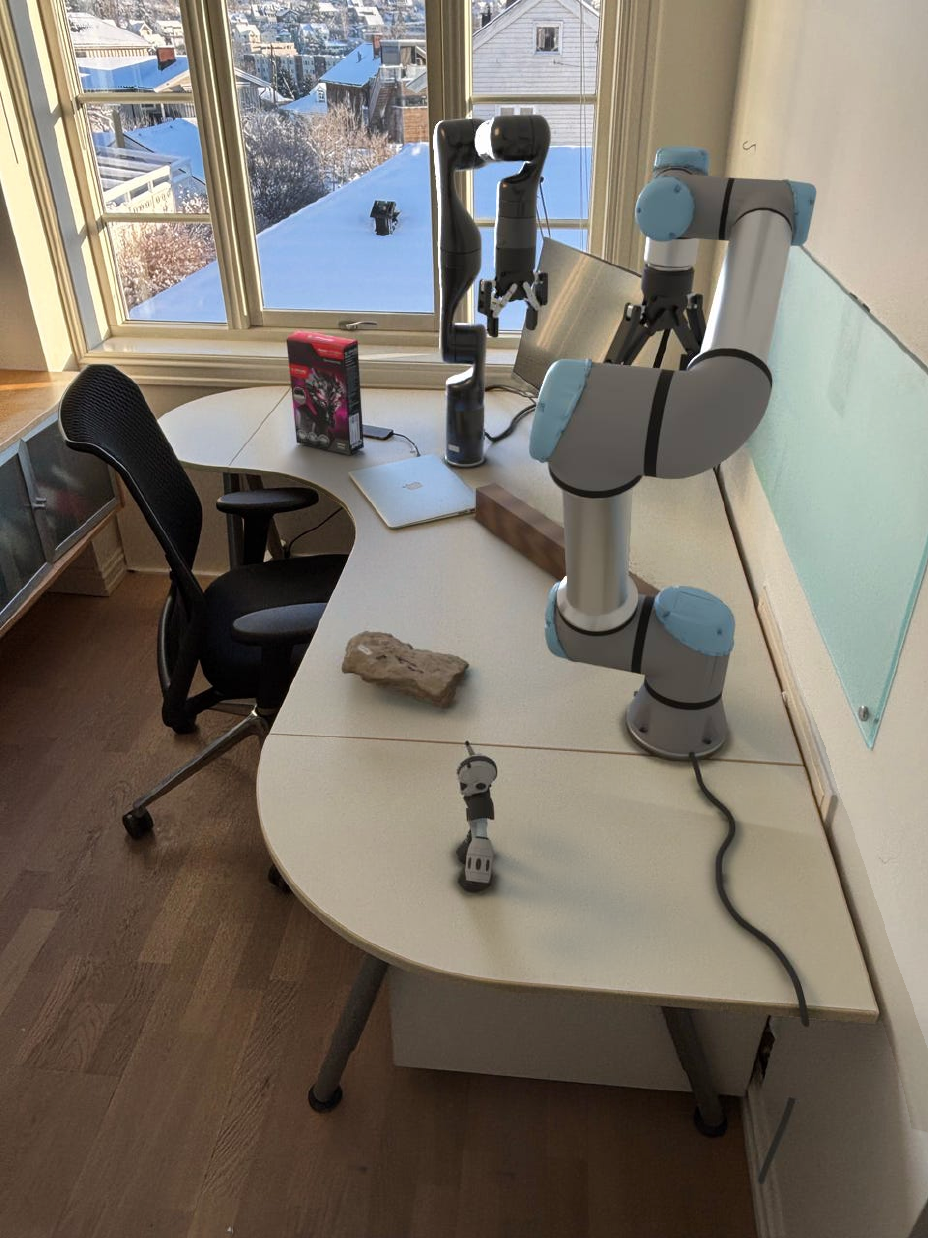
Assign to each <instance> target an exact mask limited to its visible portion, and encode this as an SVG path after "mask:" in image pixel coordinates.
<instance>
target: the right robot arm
mask: <svg viewBox="0 0 928 1238" xmlns="http://www.w3.org/2000/svg"><path fill="white" fill-rule="evenodd" d="M710 163H711V155H710V152H709V151H708V150H707V149H705V148H704V147H703V148H702V147H698V146H689V145H670V146H663V147H661V148H660V149H658V150H657V151H656V154H655V158H654V166H653V168H652V173H653V174H652V179H651V180H650V181H648V182H647V183H646V184H645V185H644V186H643V188H642V190H641V192H640V194H639V196H638V198H637V200H636V204H635V208H634V216H635V221H636V224H637V227H638V229H639V230H640V232H641V233H642V234H643V235H644V236H645V237H646V238H645V247H644V256H643V260H644V262H645V263H646V264H644V265H643V266H642V272H641V282H640V290H641V292H642V295H643V297H642V300H641V302H640V303H639V304H638V303H636V304H635V303H631V302H626V303H625V304H624V309H623V314H622V318H621V321H620V322H619V325H618V328H617V330H616V331H615V333H614V336H613V339H612V341H611V343H610V345H609V348H608V350H607V352H606V354H605V356H604V359H603V361H602V362H598V361H593V359H592V358H586V359H575V358H574V359H573V358H562V359H558V360H557V361H555V362H553V363H552V364H551V366H549V368H548V370H547V372H546V374H545V376H544V378H543V381H542V385H541V387H540V390H539V393H538V397H537V401H536V403H537V405H536V407H535V408H534V414H533V417H532V423H531V429H530V434H529V445H528V452H529V456H530V458H531V459H533V460H536V461H538V462H539V463H542V464H545V463H547V467H548V473H549V476H550V478H551V480H552V481H553V483H554V485H556V487H557V488H559V489H560V490H561V494H562V516H563V517H562V519H563V528H564V539H565V560H566V577H565V578H564V579H563V580H562V581H561V580H560V581H558V582H556V583H555V584H554V585H553V586H552V588H551V590H550V593H549V596H548V599H547V602H546V608H545V614H544V615H545V616H544V621H545V625H544V637H545V643H546V645H547V648H548V651H550V653H551V654H552V655H554V656H555V657H557V658H561V659H565V660H567V661H569V662H572V663H581V664H586V665H590V666H596V667H601V668H607V669H611V670H616V671H621V672H627V673H632V674H637V675H641V676H644V677H643V682H642V684H641V685H640V688H639V689H638V690H634V691H633V699H632V701H631V702H630V704H629V706H628V708H627V711H626V719H625V728H626V732H627V734H628V736H629V738H630V739H631V741H632V742H634V744H636V745H637V746H638V747H639V748H640V749H641V750H643V751H645V752H646V753H648V754H650V755H651V756H654V757H656V758H659V759H662V760H666V761H670V762H675V763H691V764H692V767H693V771H694V775H695V778H696V782H697V785H698V787H699V789H700V790H701V792H702V793H703V795H704V796H705V797H706V799H708V800H709V801H710V802H711V803H712V804H713V805H714V806H715V807H717V808H718V809H719V810H720V811H721V812H722V813H723V814H724V815H725V817H726V819H727V822H728V828H729V829H728V833H727V836H726V837H725V839H724V841H723V843H722V844H721V846H720V847H719V849H718V852H717V854H716V858H715V866H714V867H715V871H714V872H715V882H716V889H717V892H718V895H719V897H720V900H721V902H722V903H723V905H724V907H725V909H726V911H727V912H728V913H729V915H730V916H731V917H732V918H733V919H734V921H735V922H736V923H737V924H739V925H740V926H741V927H742V928H743V929H745V930H746V931H747V932H748V933H750V934H752V935H753V936H755V937H756V938H757V939H758V940H759V941H761V942H762V943H764V945H766V946H767V947H768V948H769V949H770V950H771V951H772V952H773V953H774V954H775V956H776V957H777V958H778V959H779V961H780V963H781V964H782V966H783V967H784V969H785V970H786V972H787V974H788V975H789V978H790V980H791V982H792V984H793V988H794V991H795V994H796V999H797V1004H798V1008H799V1013H800V1014H799V1015H800V1020H801V1025H803V1027H805V1028H809V1027H810V1017H809V1011H808V1006H807V1000H806V997H805V993H804V989H803V986H802V983H801V980H800V979H799V977H798V974H797V972H796V971H795V969H794V967H793V966H792V963H791V962H790V961H789V959H788V958H787V956H786V955H785V954H784V952H783V950H781V948H780V946H778V945H777V944H776V943H775V942H774V941H773V940H772V939H771V938H770V937H768V936H767V935H766V934H764V933H763V932H762V931H760V930H759V929H758V928H757V927H755V926H753V925H752V924H751V923H750V922H748V921H747V920H746V919H744V918H743V917H742V916H741V915H740V914H739V912H737V911H736V909H735V908H734V907H733V905H732V902H730V900H729V897H728V895H727V893H726V890H725V885H724V880H723V860H724V856H725V854H726V851H727V849H728V848H729V846H730V845H731V843H732V841H733V839H734V837H735V835H736V821H735V819H734V816H733V815H732V812H731V811H730V810H729V809H728V807H726V806H725V805H724V804H723V803H722V802H721V801H720V800H719V799H718V798H717V797H715V796H714V794H712V792H710V791H709V789H708V788H707V786H706V785H705V783H704V780H703V777H702V773H701V770H700V765H699V763H698V762H700V761H703V760H706V759H709V758H711V757H714V755H716V754H718V752H720V751H721V750H722V748H723V747H724V744H725V743H726V740H727V739H726V738H727V734H728V721H727V716H726V712H725V708H724V707H725V706H724V701H723V692H724V686H725V682H726V678H727V677H726V676H727V671H728V666H729V661H730V656H731V652H733V649H734V646H735V638H734V637H735V631H736V618H735V616H734V614H733V611H732V610H731V608H730V607H729V606H728V605H727V604H726V603H724V601H723V600H722V599H721V598H719V597H718V596H717V595H715V594H712V593H711V592H709V591H706V590H704V589H701V588H698V587H694V586H689V585H676V586H675V587H674V586H668V587H666V588H663V589H662V590H659V591H660V592H659V594H658V595H657V596H656V597H652V596H647V595H641V594H638V591H637V588H636V585H635V583H634V581H633V580H632V579H631V578H630V577H629V571H630V555H631V553H630V552H631V532H632V531H631V530H632V509H633V508H632V507H633V489H635V488H636V487H637V486H638V484H639V483H641V481H642V479H643V478H644V477H651V478H656V479H663V480H681V479H686V478H691V477H695V476H698V475H700V474H704V473H705V472H707V471H710V470H712V469H714V468H716V467H717V466H718V465H720V464H722V463H723V462H725V461H726V460H727V459H729V458H731V457H732V455H734V454H735V453H736V452H737V451H738V450H739V449H740V448H742V446H743V445H744V444H746V442H747V441H748V440H749V439H750V438H751V436H752V435H753V433H754V432H755V431H756V430H757V428H758V427H759V425H760V424H761V421H762V420H763V418H764V417H765V414H766V411H767V409H768V408H769V407H768V406H769V404H770V400H771V394H772V391H773V390H772V389H773V385H774V384H773V383H774V377H773V373H772V370H771V368H770V366H769V364H768V361H769V355H770V351H771V346H772V341H773V336H774V331H775V326H776V321H777V316H778V310H779V307H780V306H779V305H780V300H781V296H782V291H783V286H784V281H785V276H786V271H787V266H788V261H789V256H790V251H791V247H799V246H802V245H805V243H806V242H807V241H808V238H809V232H810V228H811V224H812V219H813V213H814V208H815V203H816V199H817V188H816V186H815V185H814V184H813V183H809V182H804V181H796V180H790V179H788V178H786V179H785V178H784V179H781V180H780V179H769V178H766V179H765V178H746V177H727V176H713V175H710V171H709V169H710ZM701 239H702V240H711V241H712V240H713V241H726V242H728V243H727V247H726V251H725V254H724V259H723V262H722V266H721V270H720V274H719V278H718V282H717V285H716V290H715V293H714V297H713V301H712V304H711V309H710V313H709V317H708V321H707V322H706V319H705V315H704V310H703V305H704V304H703V303H704V295H703V294H701V293H698V292H695V291H693V287H694V286H693V285H694V278H695V271H696V270H695V268H694V265H695V264H697V258H698V251H699V243H700V240H701ZM685 312H686V316H685V314H684V313H685ZM664 330H673V333H674V334H675V335H676V337H677V340H678V342H679V343H680V344H681V346H682V348H683V350H684V352H685V353H681V354H680V358H679V365H678V370H673V369H666V368H660V367H659V368H658V367H649V366H648V367H647V366H637V365H632V364H633V363H634V361H636V359H637V357H639V354H640V353H641V351H642V350H643V348H644V347H645V345H646V344H647V342H648V341H649V339H650V338H651V337H654V336H655V334H656V333H657V332H663V331H664ZM795 1103H796V1098H794V1097H791V1096H788V1098H787V1101H786V1105H785V1107H784V1111H783V1113H782V1116H781V1119H780V1122H779V1124H778V1127H777V1129H776V1132H775V1133H774V1137H773V1139H772V1141H771V1144H770V1146H769V1149H768V1151H767V1154H766V1156H765V1159H764V1161H763V1164H762V1166H761V1170H760V1172H759V1175H758V1178H757V1182H758V1183H759V1184H760V1185H763V1184H765V1182H766V1180H767V1179H766V1178H767V1176H768V1173H769V1170H770V1168H771V1165H772V1162H773V1160H774V1158H775V1155H776V1153H777V1151H778V1148H779V1145H780V1143H781V1142H782V1139H783V1137H784V1134H785V1131H786V1129H787V1126H788V1124H789V1121H790V1119H791V1116H792V1113H793V1110H794V1106H795Z"/></svg>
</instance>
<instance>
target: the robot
mask: <svg viewBox="0 0 928 1238" xmlns="http://www.w3.org/2000/svg"><path fill="white" fill-rule="evenodd" d="M464 743H465V748H466V750H467V754H468V755H469V756H467V757H465V758H464V759H463V760H462V761H461V762H460V763H458V766H457V768H456V775H457V780H458V781H459V793H460V795H462V796H463V797H462V799H463V801H464V803H465V805H466V807H465V815H466V822H467V823H468V825H469V830H468V832H467V834H466V836H465V838H464V839H463V841H462V843H461V845H459V847H458V848H457V850H456V851H455V853H456V856H457V858H458V860H459V861H460V862H461V863H463V864H464V865H463V866H462V869H461V872H460V873H459V876H458V880H457V883H458V884H459V885H460V886H461V888H462V889H464V890H465V891H469V892H473V893H475V892H480V891H482V890H484V889H486V888H487V887H490V886H491V883H492V880H493V863H494V847H493V844H492V840H491V839H490V838H489V837H488V830H487V829H488V820H490V821H495V804H494V801H493V799H492V797H491V788H492V783H493V782H495V780H496V779H497V777H498V766H497V764H496V762H495V761H494V760H493V759H492V758H490V757H489V756H487V755H485V754H482V753H478V752H477V753H476V752H475V751H474V749H473V747H472V745H471V744H470V742H469V740H466V741H464Z"/></svg>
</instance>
